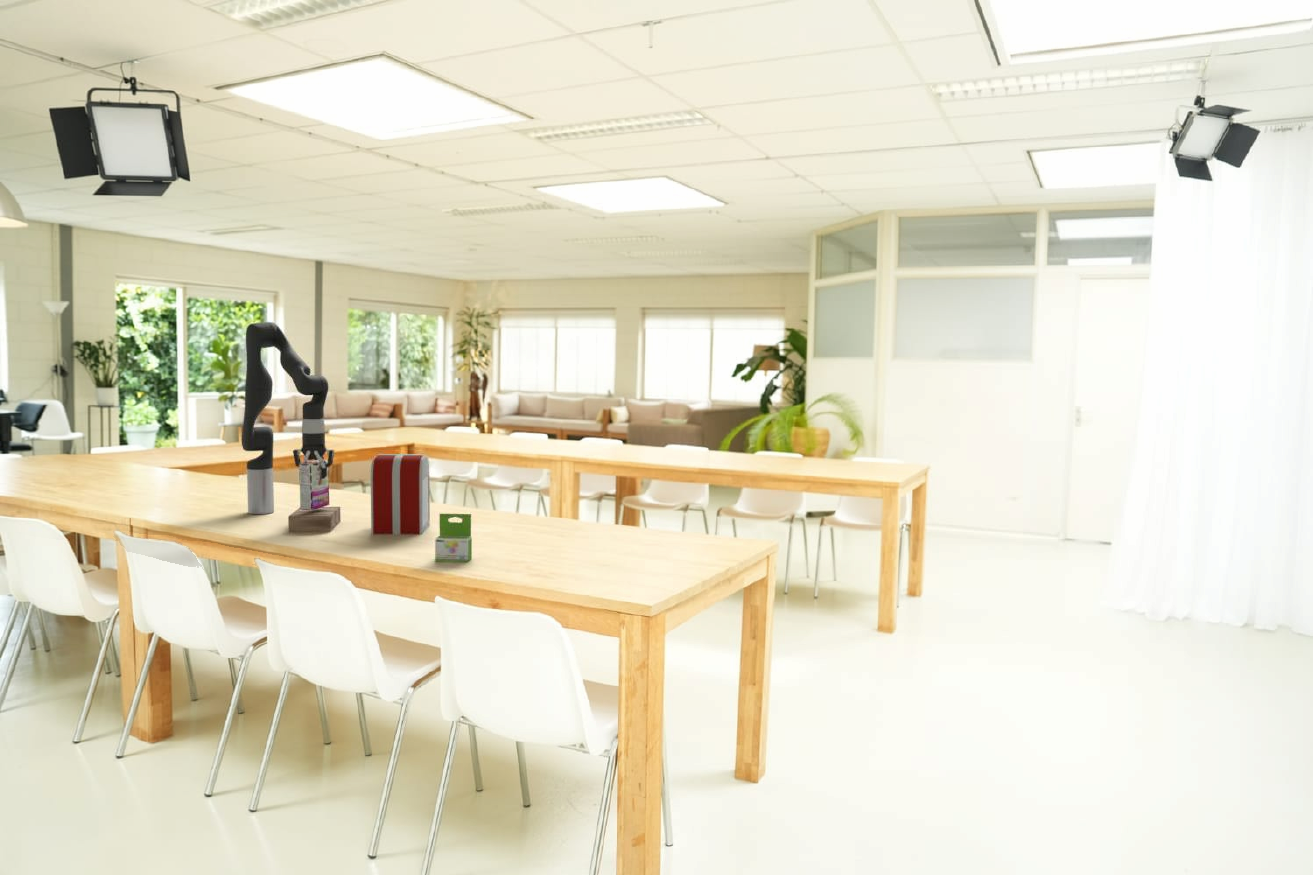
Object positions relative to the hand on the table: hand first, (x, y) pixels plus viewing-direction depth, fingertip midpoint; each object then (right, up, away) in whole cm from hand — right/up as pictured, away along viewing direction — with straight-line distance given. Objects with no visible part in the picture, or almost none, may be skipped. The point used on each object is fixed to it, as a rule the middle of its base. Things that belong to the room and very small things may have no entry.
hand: (314, 478), depth 310 cm
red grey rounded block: (+31, -19, 0) cm, 36 cm away
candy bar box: (0, -11, +1) cm, 11 cm away
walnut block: (0, -18, +2) cm, 18 cm away
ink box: (+60, -23, -43) cm, 77 cm away
